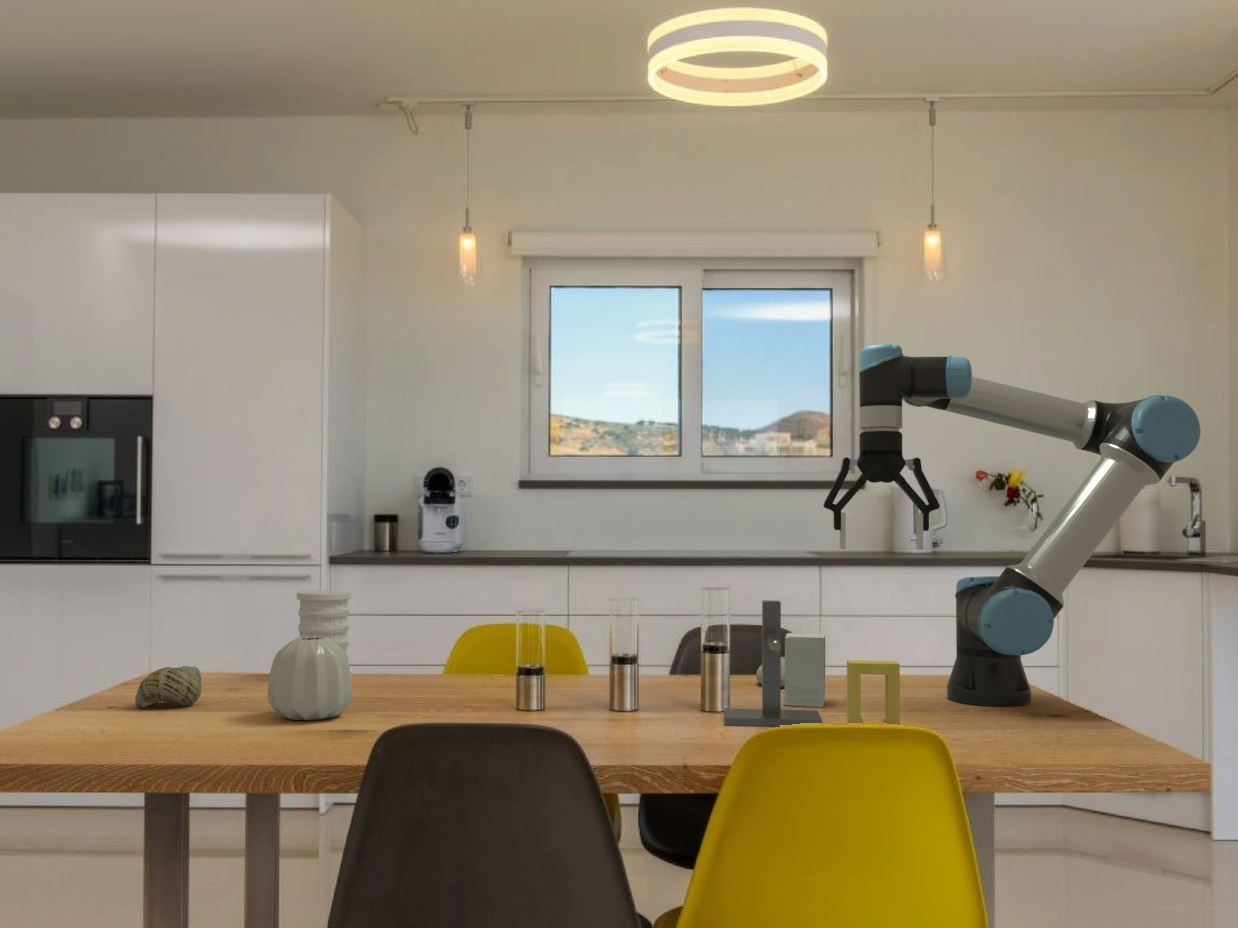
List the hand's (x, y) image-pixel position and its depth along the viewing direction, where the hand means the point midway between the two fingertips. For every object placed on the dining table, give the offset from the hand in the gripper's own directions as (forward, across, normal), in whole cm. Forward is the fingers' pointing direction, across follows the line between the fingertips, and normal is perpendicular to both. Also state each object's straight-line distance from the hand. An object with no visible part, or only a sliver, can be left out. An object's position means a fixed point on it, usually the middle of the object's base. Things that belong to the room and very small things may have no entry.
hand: (881, 549), depth 204 cm
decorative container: (+29, +110, -22) cm, 116 cm away
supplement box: (+29, +13, -6) cm, 32 cm away
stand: (+29, +20, +16) cm, 39 cm away
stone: (+29, +16, -28) cm, 43 cm away
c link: (+29, +4, +18) cm, 34 cm away
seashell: (+29, +126, +10) cm, 130 cm away
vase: (+29, +98, +18) cm, 104 cm away
